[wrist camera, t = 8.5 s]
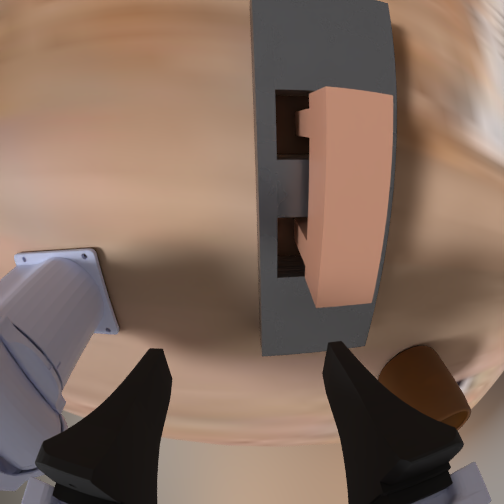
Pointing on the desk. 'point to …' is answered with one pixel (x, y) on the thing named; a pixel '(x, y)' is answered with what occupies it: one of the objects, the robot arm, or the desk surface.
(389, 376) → the mug
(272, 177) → the grey slotted tapered plate
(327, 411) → the desk surface
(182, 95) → the desk surface
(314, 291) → the tan tabbed block
